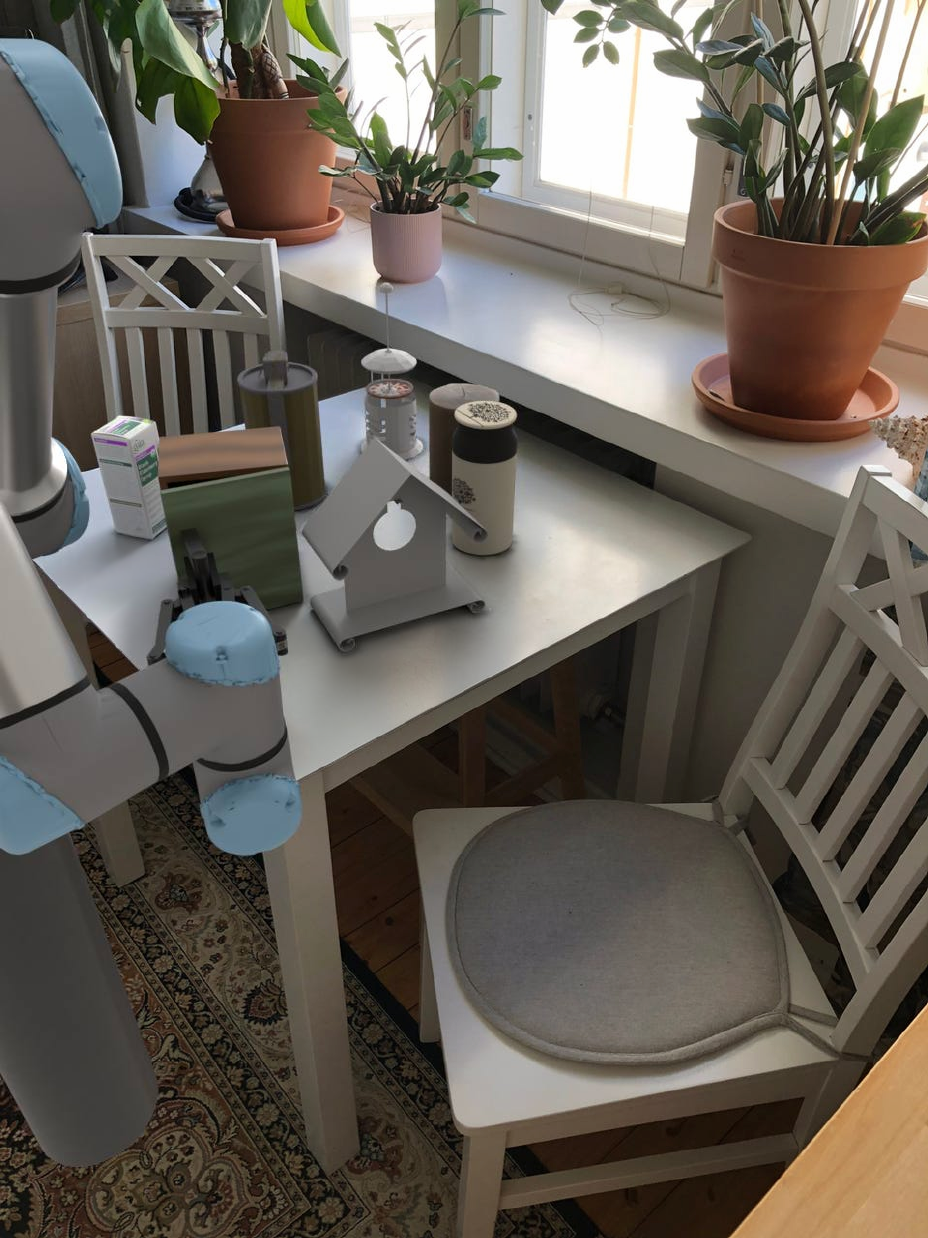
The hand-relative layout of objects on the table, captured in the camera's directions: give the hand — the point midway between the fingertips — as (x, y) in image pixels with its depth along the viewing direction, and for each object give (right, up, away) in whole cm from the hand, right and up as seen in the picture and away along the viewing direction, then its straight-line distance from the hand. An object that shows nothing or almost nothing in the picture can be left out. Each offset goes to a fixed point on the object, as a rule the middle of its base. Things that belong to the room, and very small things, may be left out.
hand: (200, 565), depth 100 cm
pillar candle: (+28, +13, +34) cm, 46 cm away
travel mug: (+31, +4, +22) cm, 38 cm away
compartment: (+1, -1, +13) cm, 14 cm away
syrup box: (-14, +6, +24) cm, 28 cm away
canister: (+4, +12, +31) cm, 34 cm away
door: (+4, -7, +6) cm, 10 cm away
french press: (+17, +21, +45) cm, 52 cm away
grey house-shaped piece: (+21, -5, +9) cm, 23 cm away
